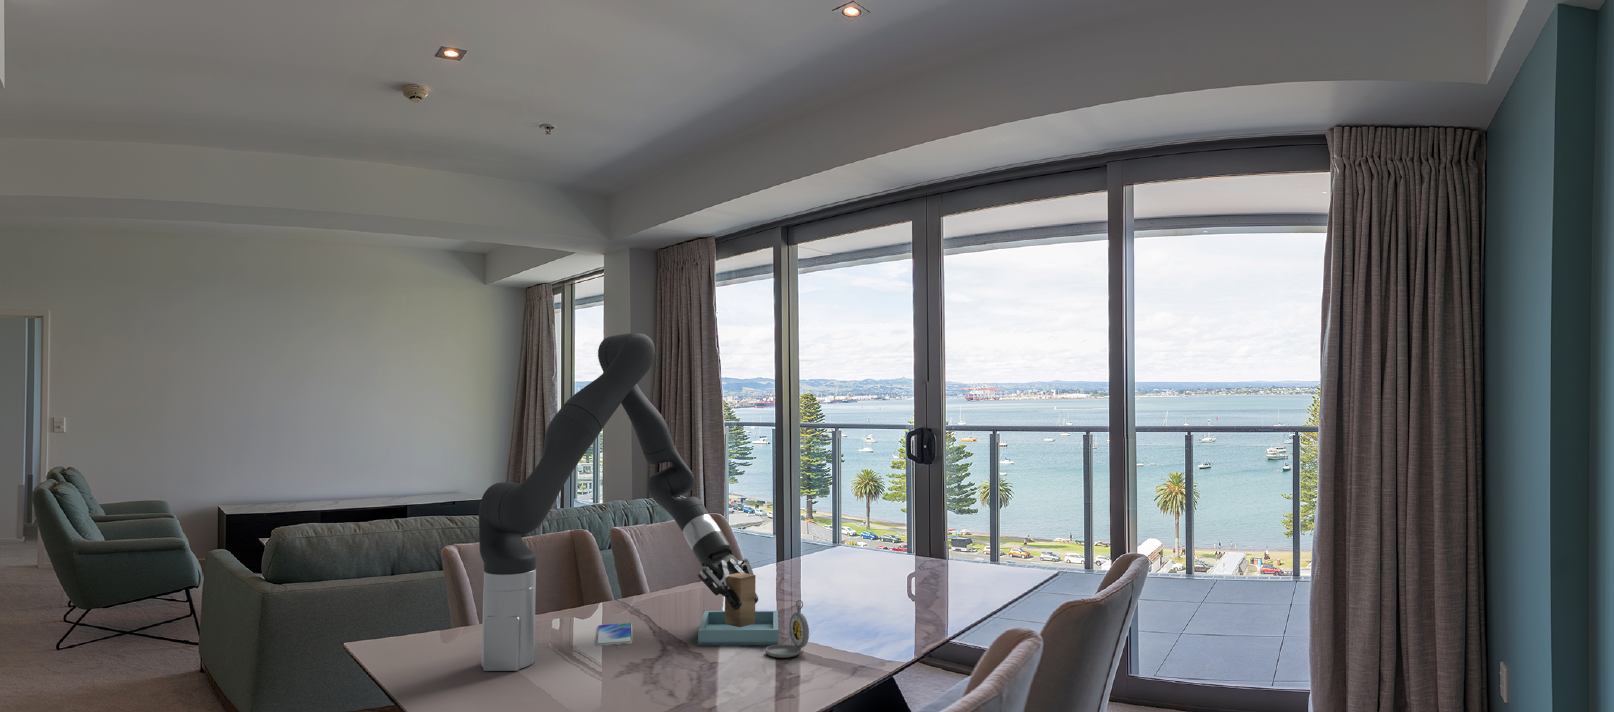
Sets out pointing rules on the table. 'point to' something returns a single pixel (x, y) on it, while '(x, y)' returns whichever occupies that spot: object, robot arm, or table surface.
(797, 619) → the pocket watch
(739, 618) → the walnut block
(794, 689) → the table surface
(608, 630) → the smartphone
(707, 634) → the tray
